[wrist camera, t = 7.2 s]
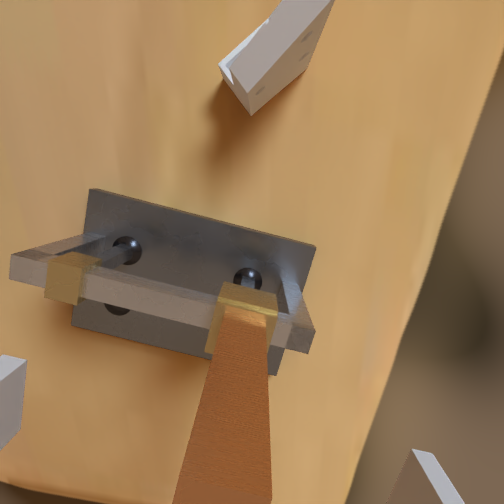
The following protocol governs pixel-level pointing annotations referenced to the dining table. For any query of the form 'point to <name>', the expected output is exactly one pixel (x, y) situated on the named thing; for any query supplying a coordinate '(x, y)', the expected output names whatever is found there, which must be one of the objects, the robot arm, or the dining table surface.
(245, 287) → the sliding leg
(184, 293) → the grey bracket frame
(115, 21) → the dining table surface
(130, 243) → the bolt plate
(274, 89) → the white wedge bracket
